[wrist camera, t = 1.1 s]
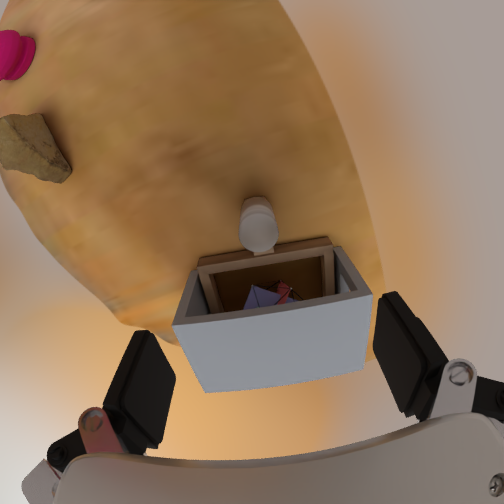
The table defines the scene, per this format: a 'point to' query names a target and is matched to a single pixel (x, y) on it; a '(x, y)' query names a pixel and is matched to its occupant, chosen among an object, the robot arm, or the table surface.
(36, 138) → the rock
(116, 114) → the table surface
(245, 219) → the brown open frame
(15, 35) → the pepper mill
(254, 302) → the geometric puzzle
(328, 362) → the open box
